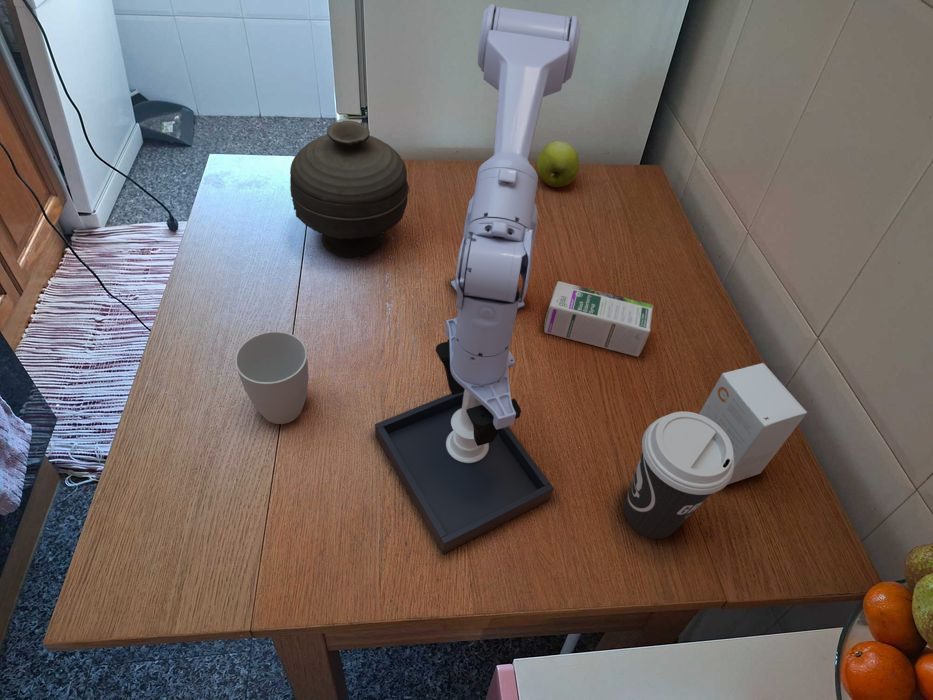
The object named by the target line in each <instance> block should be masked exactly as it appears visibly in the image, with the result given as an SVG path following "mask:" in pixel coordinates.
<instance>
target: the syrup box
mask: <svg viewBox="0 0 933 700" xmlns="http://www.w3.org/2000/svg"><path fill="white" fill-rule="evenodd" d="M653 310H654V305H653V304H652V303H649V302H648V303H647V302H644V301H639V300H636V299H631V298H627V297H623V296H621V295H615V294H612V293H608V292H604V291H600V290H595V289H592V288H588V287H585V286H580V285H576V284H572V283H567V282H564V281H560V280H558V281H557V282H556V284H555V285H554V289H553V291H552V294H551V299H550V302H549V304H548V308H547V312H546V315H545V319H544V325H543V332H544V333H545V334H549V335H551V336H555V337H559V338H564V339H568V340H571V341H575V342H579V343H582V344H587V345H590V346H594V347H599V348H602V349H606V350H610V351H613V352H618V353H620V354H621V353H622V354H625V355H629V356H632V357H639V356H640V355H641V353H642V351H643V349H644V347H645V345H646V342H647V341H648V338H649V335H650V333H651V325H652V317H653Z"/></svg>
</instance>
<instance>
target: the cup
mask: <svg viewBox="0 0 933 700" xmlns="http://www.w3.org/2000/svg"><path fill="white" fill-rule="evenodd" d="M308 364H309V363H308V351H307V347H306V345H305V343H304V342H303V341H302V340H301V338H299V337H298V336H296V335H294V334H292V333H290V332H285V331H280V330H279V331H278V330H272V331H265V332H261V333H258V334H255V335H253V336H251V337H249V338H248V339H246V340H245V341H244V342H243V343H242V344H241V345H240V346H239V348H238V349H237V351H236V354H235V356H234V365H235V366H234V367H235V368H236V371H237V373H238V377H239V379H240V382H241V384H242V386H243V389H244V392H245V394H247V396H248V398H249V400H250V401H251V403H252V405H253V406H254V408H255V409H256V411H258V413H259V414H260V415H261V416H263V418H264V419H265V420H266V421H268V422H269V423H272V424H275V425H284V424H288V423H291V422H293V421H295V420H296V419H297V418H298V417H299V416H300V415H301V413H302V411H303V409H304V406H305V403H306V400H307V395H308V387H309V386H308V384H309V365H308Z"/></svg>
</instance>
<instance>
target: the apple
mask: <svg viewBox="0 0 933 700" xmlns="http://www.w3.org/2000/svg"><path fill="white" fill-rule="evenodd" d="M579 169H580V157H579V153H578V152H577V150H576V148H575V147H574V146H572V144H570V143H568V142H566V141H561V140H554V141H551V142H550V143H548V144H547V145H545V146H544V147H543V148H542V149H541V151H540V152H539V155H538V157H537V161H536V172H537V175H538V177H539V178H540V179H541V180H542V181H543V182H544V183H545V184H546V185H548V186H549V187H552V188H562V187H565V186H568V185H570V184H571V183H572V182H573V181H574V180H575V178H576V177H577V175H578V172H579Z"/></svg>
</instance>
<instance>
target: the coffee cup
mask: <svg viewBox="0 0 933 700" xmlns="http://www.w3.org/2000/svg"><path fill="white" fill-rule="evenodd" d="M641 451H642V452H641V454H640V457H639V461H638V463H637V466H636V468H635V472H634V474H633V477H632V480H631V483H630V486H629V488H628V491H627V494H626V497H625V500H624V504H623V513H624V517H625V520H626V521H627V523H628V524H629V525H630V527H631V528H632V529H633V530H634V531H635V532H636V533H638V534H640V535H641V536H643V537H646V538H648V539H652V540H661V539H666V538H668V537H671V536H672V535H673V534H674V533H675V532H676V531H677V530H678V528H679V527H681V526H682V525H683V524H684V523H685V521H687V519H689V517H690V516H691V515H692V514H693V513H694V512H695V511H696V510H697V509H698V508H699V507H700V506H701V505H702V504H703V503H704V502H705V501H706V500H707V499H708V498H709V497H710V496H711V495H712V494H714V493H717V492H720V491H722V490H723V489H724V488H726V487H727V484H728V483H729V481H730V480H731V478H732V475H733V471H734V454H733V447H732V444H731V441H730V439H729V437H728V436H727V434H726V433H725V432H724V430H723V429H722V428H721V427H720V426H719V425H717V424H716V423H715V422H713V421H712V420H710V419H709V418H707V417H705V416H702V415H700V414H699V413H696V412H692V411H676V412H672V413H668V414H667V415H663V416H661V417H660V418H658V419H656V420H654V421H653V422H652V423H651V424H650V425H648V427H646V428H645V431H644V432H643V435H642V439H641ZM728 485H729V484H728Z"/></svg>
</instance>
